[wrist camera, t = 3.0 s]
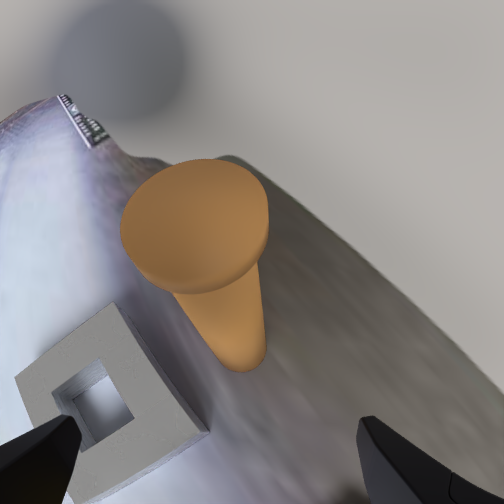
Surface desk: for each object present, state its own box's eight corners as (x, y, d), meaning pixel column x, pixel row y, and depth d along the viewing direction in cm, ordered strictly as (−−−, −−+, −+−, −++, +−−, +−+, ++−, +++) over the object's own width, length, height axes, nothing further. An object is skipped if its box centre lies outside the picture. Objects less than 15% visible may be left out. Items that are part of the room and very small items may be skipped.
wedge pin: (235, 392, 20) (165, 311, 8) (196, 343, 22) (100, 210, 10) (287, 350, 22) (301, 212, 9) (245, 306, 24) (210, 142, 11)
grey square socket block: (97, 501, 16) (76, 506, 13) (36, 385, 21) (14, 377, 18) (210, 432, 19) (200, 431, 16) (129, 317, 24) (113, 301, 21)
